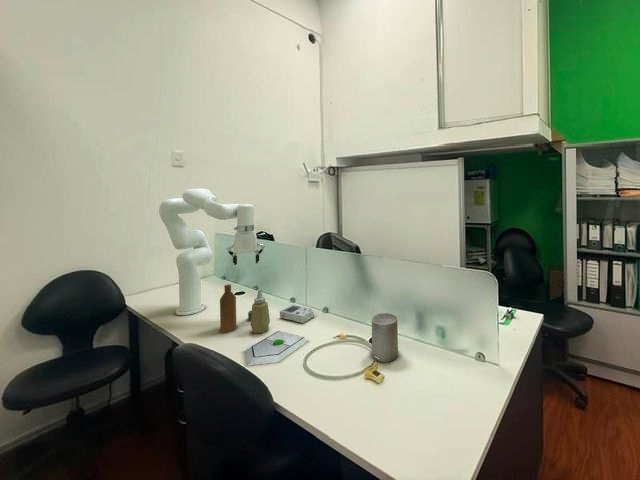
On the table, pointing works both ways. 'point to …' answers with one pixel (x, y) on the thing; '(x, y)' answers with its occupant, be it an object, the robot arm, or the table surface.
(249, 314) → the cap
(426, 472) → the table surface
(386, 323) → the pillar candle
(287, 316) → the handheld gaming device
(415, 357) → the table surface
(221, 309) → the bottle
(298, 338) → the security device
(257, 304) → the squeeze bottle
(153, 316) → the table surface
